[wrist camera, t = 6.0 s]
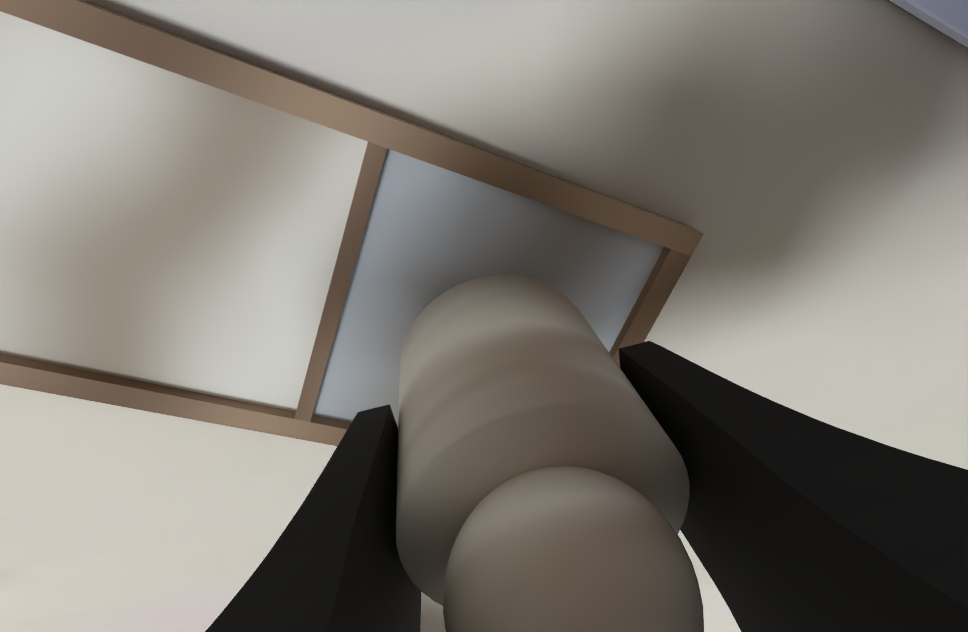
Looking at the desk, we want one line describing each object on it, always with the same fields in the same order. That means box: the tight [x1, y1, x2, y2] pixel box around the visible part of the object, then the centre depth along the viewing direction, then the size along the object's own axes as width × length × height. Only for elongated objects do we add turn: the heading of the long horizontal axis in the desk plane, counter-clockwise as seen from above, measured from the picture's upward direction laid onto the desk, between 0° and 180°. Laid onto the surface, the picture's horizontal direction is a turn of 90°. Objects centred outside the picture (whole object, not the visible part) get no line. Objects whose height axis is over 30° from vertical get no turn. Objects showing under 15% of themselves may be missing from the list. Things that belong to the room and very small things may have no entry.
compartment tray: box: [0, 0, 703, 446], centre depth 11 cm, size 23×8×1 cm, turn 69°
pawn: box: [396, 275, 704, 632], centre depth 8 cm, size 4×4×7 cm
